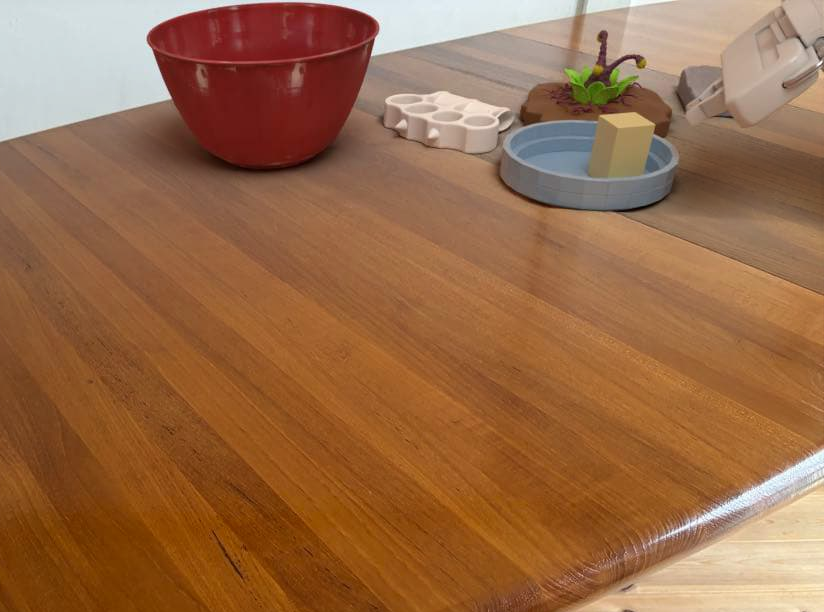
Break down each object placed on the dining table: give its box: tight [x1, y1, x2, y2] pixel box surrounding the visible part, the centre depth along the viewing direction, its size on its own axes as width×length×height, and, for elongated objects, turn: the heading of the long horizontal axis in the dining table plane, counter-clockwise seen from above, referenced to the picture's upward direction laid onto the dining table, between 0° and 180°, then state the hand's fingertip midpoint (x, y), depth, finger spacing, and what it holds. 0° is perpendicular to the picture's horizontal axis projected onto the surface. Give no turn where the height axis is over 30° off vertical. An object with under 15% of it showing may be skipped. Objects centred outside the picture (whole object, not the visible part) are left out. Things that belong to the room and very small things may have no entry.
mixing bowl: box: [146, 1, 381, 170], centre depth 105 cm, size 28×28×16 cm
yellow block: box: [587, 112, 655, 178], centre depth 95 cm, size 4×4×7 cm
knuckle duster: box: [383, 90, 515, 155], centre depth 112 cm, size 3×18×15 cm
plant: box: [519, 29, 673, 138], centre depth 112 cm, size 20×20×11 cm
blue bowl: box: [499, 120, 681, 212], centre depth 97 cm, size 20×20×4 cm
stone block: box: [676, 64, 733, 118], centre depth 118 cm, size 12×5×10 cm
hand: (688, 117), depth 90 cm, fingers closed
